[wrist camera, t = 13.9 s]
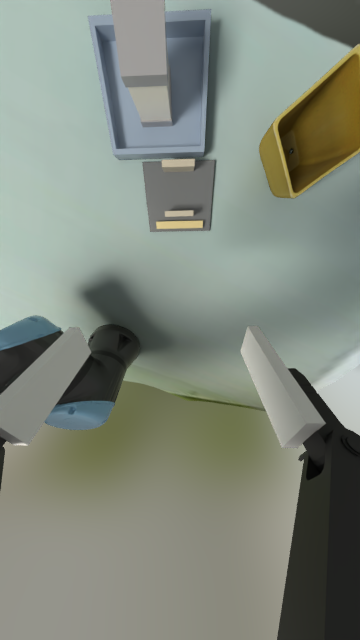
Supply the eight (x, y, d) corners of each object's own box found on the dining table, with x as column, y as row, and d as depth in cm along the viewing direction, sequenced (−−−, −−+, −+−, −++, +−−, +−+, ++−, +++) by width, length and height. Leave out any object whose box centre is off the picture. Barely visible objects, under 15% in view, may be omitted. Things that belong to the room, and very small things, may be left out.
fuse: (143, 127, 23) (120, 76, 15) (137, 76, 21) (107, -20, 12) (172, 126, 23) (166, 74, 15) (170, 74, 20) (163, -23, 12)
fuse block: (150, 231, 31) (147, 232, 28) (143, 163, 26) (138, 156, 23) (209, 230, 31) (211, 231, 28) (214, 161, 25) (218, 153, 22)
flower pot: (303, 98, 22) (366, 35, 14) (315, 166, 26) (369, 145, 18) (245, 150, 25) (272, 121, 17) (263, 205, 29) (292, 200, 21)
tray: (118, 159, 25) (113, 154, 23) (97, 37, 19) (87, 15, 17) (202, 157, 25) (204, 151, 23) (208, 31, 19) (211, 9, 17)
